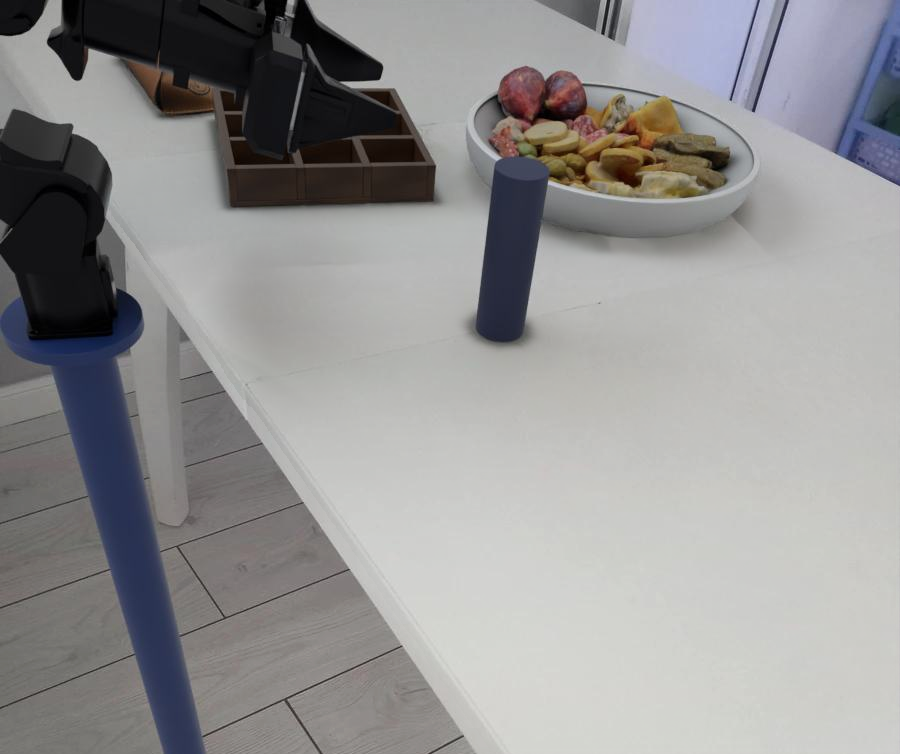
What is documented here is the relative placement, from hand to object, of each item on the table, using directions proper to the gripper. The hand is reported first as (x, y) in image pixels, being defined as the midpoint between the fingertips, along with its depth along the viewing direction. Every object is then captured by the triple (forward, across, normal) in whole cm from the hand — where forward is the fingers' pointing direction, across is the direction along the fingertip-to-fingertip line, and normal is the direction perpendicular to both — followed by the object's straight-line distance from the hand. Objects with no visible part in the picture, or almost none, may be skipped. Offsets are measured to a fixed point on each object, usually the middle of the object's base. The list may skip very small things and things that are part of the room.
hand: (388, 95), depth 64 cm
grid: (0, +26, +16) cm, 31 cm away
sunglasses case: (-15, +46, +20) cm, 52 cm away
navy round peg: (+13, -6, +13) cm, 19 cm away
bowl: (+29, +22, +8) cm, 37 cm away
